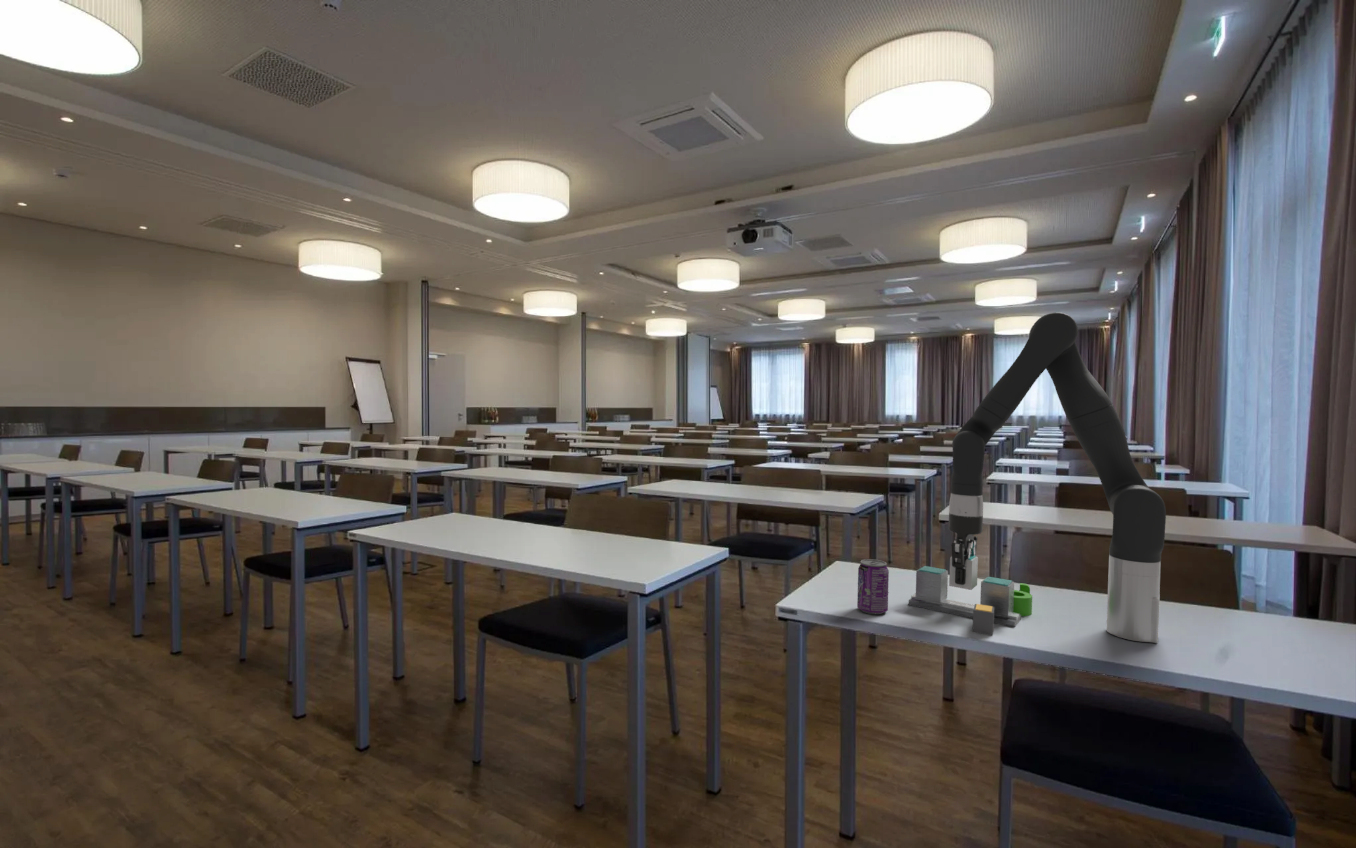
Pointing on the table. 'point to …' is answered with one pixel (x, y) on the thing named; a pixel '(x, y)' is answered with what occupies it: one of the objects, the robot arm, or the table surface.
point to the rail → (935, 598)
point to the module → (970, 573)
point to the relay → (983, 619)
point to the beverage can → (873, 586)
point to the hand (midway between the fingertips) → (963, 581)
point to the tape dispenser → (1023, 600)
